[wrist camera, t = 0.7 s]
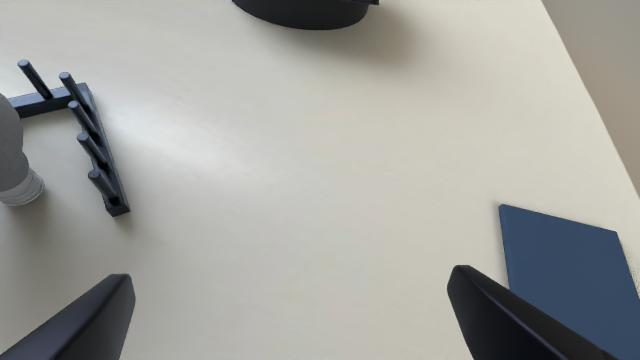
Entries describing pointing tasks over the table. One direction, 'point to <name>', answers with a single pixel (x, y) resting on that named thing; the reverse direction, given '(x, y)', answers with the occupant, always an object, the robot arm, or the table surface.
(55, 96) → the drying rack
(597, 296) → the rubber mat
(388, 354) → the table surface
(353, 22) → the dark grey stacked discs
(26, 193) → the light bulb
